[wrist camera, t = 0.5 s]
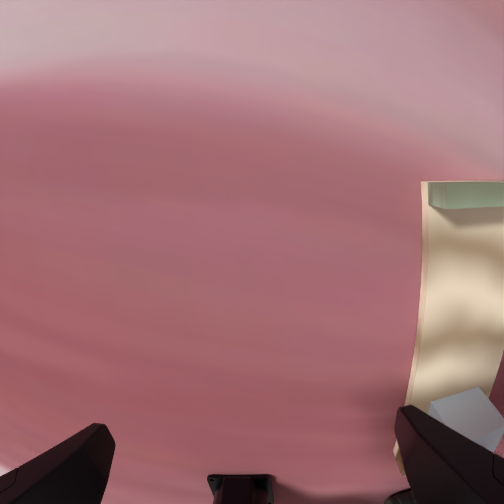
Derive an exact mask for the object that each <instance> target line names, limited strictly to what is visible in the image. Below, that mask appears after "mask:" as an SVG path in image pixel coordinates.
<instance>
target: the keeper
mask: <svg viewBox="0 0 504 504" xmlns="http://www.w3.org/2000/svg"><path fill="white" fill-rule="evenodd" d="M428 415H430V416H432V417H433V418H435V419H437V420H438V421H440V422H442V423H443V424H445V425H447V426H448V427H450V428H452V429H453V430H455V431H457V432H459V433H460V434H462V435H464V436H465V437H467V438H469V439H470V440H472V441H474V442H476V443H477V444H479V445H481V446H483V447H484V448H486V449H488V450H490V451H491V452H493V453H494V451H495V449H496V447H497V445H498V443H499V442H500V440H501V438H502V436H503V434H504V418H503V416H502V415H501V414H500V413H499V411H498V410H497V409H496V408H495V406H494V405H493V404H492V403H491V401H490V400H489V399H488V398H487V396H486V395H485V394H484V393H483V392H482V390H481V389H480V388H479V387H475V388H473V389H470V390H467V391H464V392H461V393H458V394H454V395H451V396H448V397H445V398H441V399H438V400H435V401H431V404H430V407H429V411H428Z"/></svg>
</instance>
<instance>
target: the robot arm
mask: <svg viewBox="0 0 504 504" xmlns="http://www.w3.org/2000/svg"><path fill="white" fill-rule="evenodd" d="M395 435H396V439H397V443H398V446H399V450H400V454H401V458H402V463H403V467H404V470H405V474H406V477H407V479H408V482H409V485H410V487H411V490H412V493H413V495H414V498H415V501H416V503H417V504H504V458H502V457H501V456H499V455H497V454H493V452H491V451H490V450H488V449H486V448H484V447H483V446H481V445H479V444H477V443H476V442H474V441H472V440H470V439H469V438H467V437H465V436H464V435H462V434H460V433H459V432H457V431H455V430H453V429H452V428H450V427H448V426H447V425H445V424H443V423H442V422H440V421H438V420H437V419H435V418H433V417H432V416H430V415H428V414H427V413H425V412H424V411H422V410H420V409H419V408H417V407H415V406H414V405H411V404H410V405H406V406H402V407H399V408H398V411H397V416H396V421H395ZM114 451H115V441H114V439H113V437H112V435H111V433H110V431H109V429H108V427H107V426H106V425H105V424H100V423H93V424H91V425H90V426H88V427H86V428H85V429H83V430H81V431H80V432H78V433H76V434H75V435H73V436H71V437H70V438H68V439H66V440H65V441H63V442H61V443H60V444H58V445H56V446H55V447H53V448H51V449H49V450H48V451H46V452H44V453H42V454H41V455H39V456H37V457H35V458H34V459H32V460H30V461H28V462H26V463H25V464H23V465H21V466H19V468H15V469H14V470H12V471H10V472H8V473H6V474H4V475H2V476H0V504H101V501H102V498H103V495H104V492H105V489H106V485H107V482H108V478H109V473H110V469H111V464H112V460H113V455H114ZM207 481H208V483H209V486H210V488H211V491H212V493H213V495H214V501H213V504H274V500H273V493H272V487H271V480H270V476H269V475H208V477H207Z"/></svg>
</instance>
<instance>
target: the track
mask: <svg viewBox="0 0 504 504" xmlns="http://www.w3.org/2000/svg"><path fill="white" fill-rule="evenodd" d="M421 194H422V272H421V290H420V303H419V314H418V324H417V333H416V341H415V348H414V355H413V361H412V368H411V374H410V379H409V385H408V390H407V395H406V400H405V405H404V406H406V405H410V404H411V405H414V406H415V407H417V408H419V409H420V410H422V411H424V412H425V413H427V414H428V411H429V407H430V404H431V401H435V400H438V399H441V398H445V397H448V396H451V395H454V394H458V393H461V392H464V391H467V390H470V389H473V388H475V387H479V388H480V389H481V390H482V392H483V393H484V394H485V395H486V396H487V398H488V399H489V396H490V393H491V390H492V387H493V384H494V381H495V378H496V375H497V372H498V369H499V365H500V362H501V359H502V355H503V351H504V181H421ZM393 453H394V456H395V459H396V461H397V464H398V467H399V469H400V472H401V475H405V470H404V467H403V463H402V458H401V454H400V450H399V446H398V443H397V439H396V442H395V446H394V449H393Z"/></svg>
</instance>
